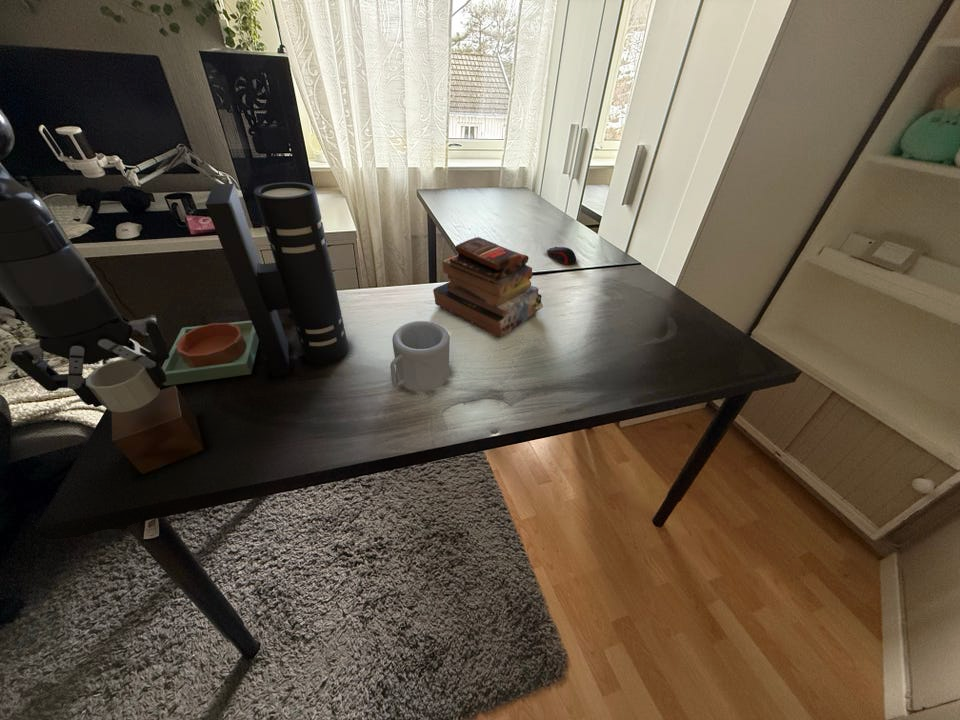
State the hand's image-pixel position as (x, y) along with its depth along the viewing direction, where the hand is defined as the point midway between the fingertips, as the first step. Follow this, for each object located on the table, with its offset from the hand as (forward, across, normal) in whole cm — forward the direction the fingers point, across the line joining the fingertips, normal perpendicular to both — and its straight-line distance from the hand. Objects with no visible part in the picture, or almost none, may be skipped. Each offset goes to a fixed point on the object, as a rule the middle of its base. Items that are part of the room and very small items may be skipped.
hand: (130, 393), depth 53 cm
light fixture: (+12, -26, -11) cm, 31 cm away
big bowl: (+11, -10, -21) cm, 26 cm away
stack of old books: (+11, -69, -5) cm, 70 cm away
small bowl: (+1, 0, 0) cm, 1 cm away
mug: (+12, -41, +8) cm, 44 cm away
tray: (+12, -10, -21) cm, 26 cm away
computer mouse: (+11, -111, -18) cm, 113 cm away
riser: (+12, 0, 0) cm, 12 cm away
